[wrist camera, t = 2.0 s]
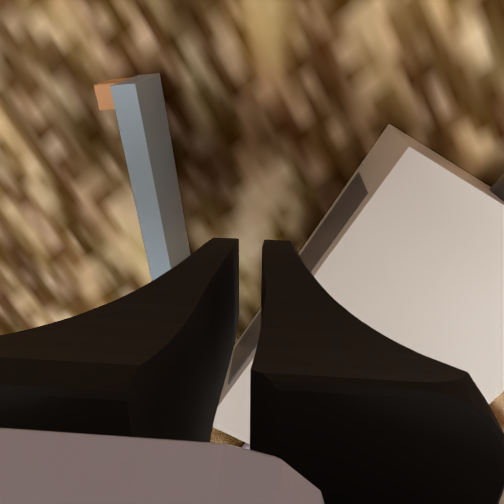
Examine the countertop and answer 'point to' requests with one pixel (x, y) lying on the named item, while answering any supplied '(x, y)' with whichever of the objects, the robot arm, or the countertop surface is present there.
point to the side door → (149, 166)
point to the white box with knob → (404, 267)
